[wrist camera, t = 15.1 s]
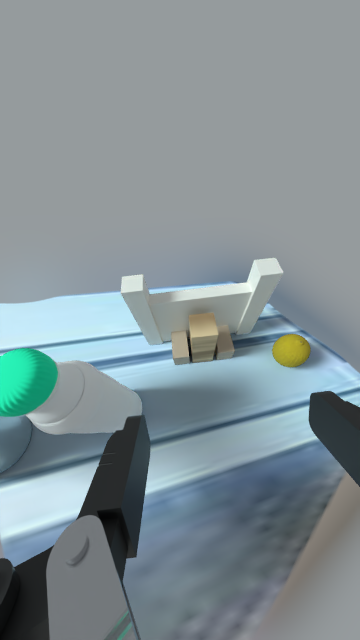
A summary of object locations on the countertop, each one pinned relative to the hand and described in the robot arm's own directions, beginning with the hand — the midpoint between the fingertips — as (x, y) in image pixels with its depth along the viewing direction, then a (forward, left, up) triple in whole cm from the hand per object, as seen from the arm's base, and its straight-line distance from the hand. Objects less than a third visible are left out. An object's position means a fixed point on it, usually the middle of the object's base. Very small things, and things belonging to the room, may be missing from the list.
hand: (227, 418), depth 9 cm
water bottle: (-4, +14, -27) cm, 31 cm away
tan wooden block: (+12, +5, -27) cm, 30 cm away
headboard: (+14, +6, -27) cm, 31 cm away
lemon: (+17, -10, -27) cm, 34 cm away
